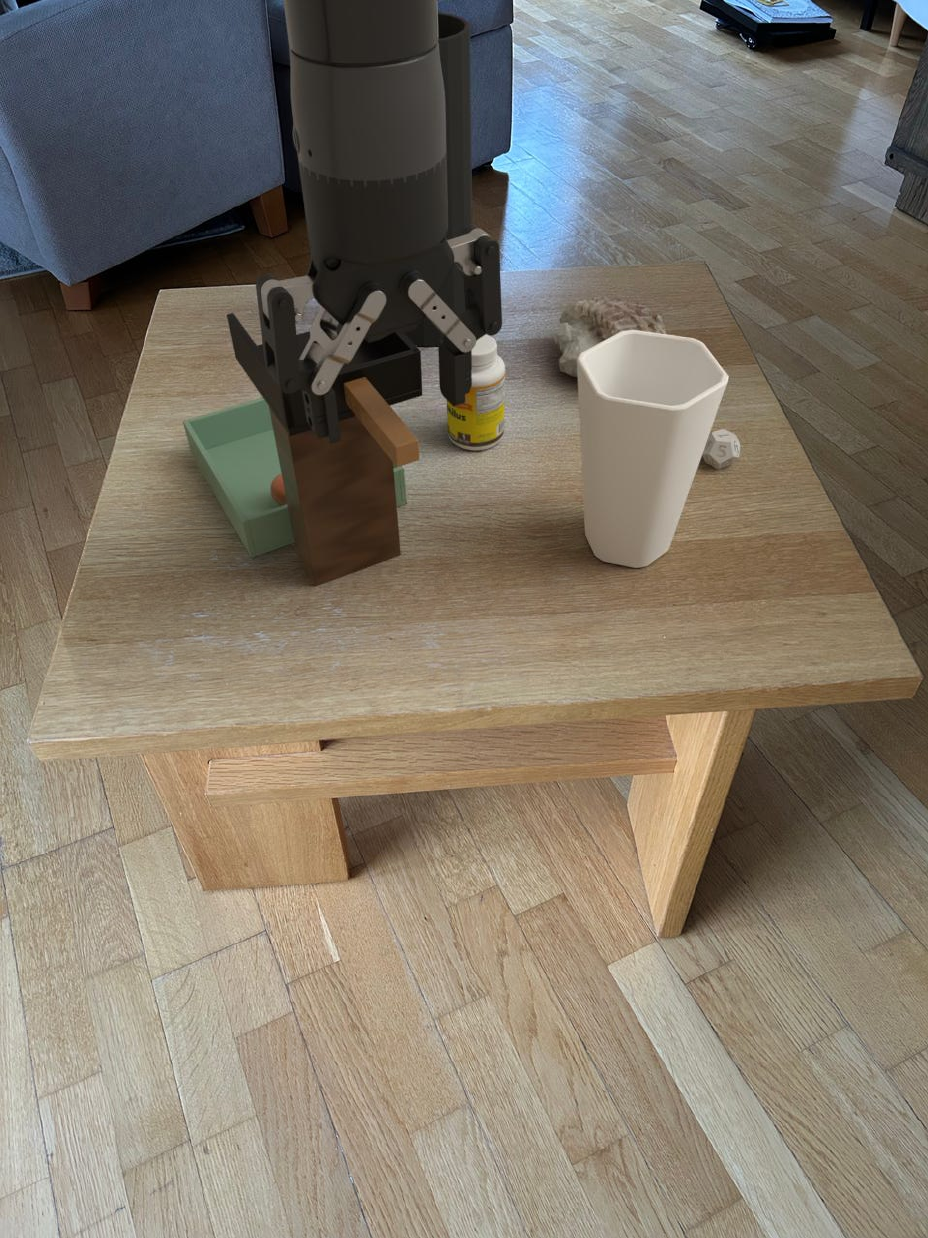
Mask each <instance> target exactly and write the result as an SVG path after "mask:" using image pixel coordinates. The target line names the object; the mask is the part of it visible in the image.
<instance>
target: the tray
mask: <svg viewBox="0 0 928 1238" xmlns="http://www.w3.org/2000/svg"><path fill="white" fill-rule="evenodd" d="M182 425H183V428H184V432H185V436H186V439H187V444H188V447H189V450H190V453H191V456H192V458H193V460H194V462H195V464H196V465H197V468H198V469H199V471H200V472H201V474H202V475H203V477H204V479H205V481H206V483H207V484H208V486H209V487H210V490H211V491H212V493H213V495H214V497H215V498H216V500H217V502H218V504H219V505H220V507H221V508H222V511H223V512H224V514H225V516H226V517H227V519H228V521H229V523H230V524H231V527H232V528H233V529H234V531H235V533H236V534H237V536H238V539H239V540H240V541H241V544H242V545H243V547H244V548H245V550H246V552H247V554H248V555H249V557H250V558H255V557H257V556H260V555H263V554H267V553H269V552H272V551H275V550H277V549H281V548H284V547H287V546H289V545H292V544H295V542H294V536H293V531H292V526H291V521H290V515H289V510H288V505H287V504H286V505H283V506H282V505H279V504H278V503H276V502H275V501H274V500H273V498H272V496H271V493H270V485H271V482H272V481H273V479H274V478H275V477H276V476H277V475H279V474H282V473H281V468H280V463H279V458H278V452H277V447H276V442H275V437H274V431H273V426H272V421H271V416H270V410H269V405H268V404H267V403H266V401H265V400H264V398H263V397H259V398H257V399H252V400H250V401H246V402H242V403H240V404H236V405H233V406H229V407H226V408H222V409H219V410H215V411H212V412H209V413H205V414H202V415H198V416H194V417H191V418H188V419H184V420H183V421H182ZM393 468H394V480H395V492H396V503H397V508H398V507H401V506H404V505H407V504H408V501H407V486H406V475H405V474H406V473H405V468H404V465H403V466H400V467H396V465H395V464H394V463H393Z"/></svg>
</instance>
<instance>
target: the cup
mask: <svg viewBox="0 0 928 1238" xmlns="http://www.w3.org/2000/svg"><path fill="white" fill-rule="evenodd" d="M577 374H578V377H577V393H578V395H577V396H578V416H579V434H580V435H579V437H580V456H581V457H580V459H581V460H580V461H581V475H582V477H581V478H582V500H583V501H582V502H583V521H584V536H585V538H586V540H587V542H588V544H589V546H590V549H591V551H592V553H593V555H594V557H596V558H597V559H599V560H600V561H602V562H604V563H610V564H613V565H620V566H623V567H629V568H634V569H638V568H645V567H648V566H649V565H651V564H653V562H655V561H656V560H658V559H659V558H661V557H662V556H663V555H665V554H666V553H667V552H669V550H670V548H671V544H672V541H673V538H674V536H675V533H676V530H677V527H678V524H679V522H680V518H681V516H682V513H683V510H684V507H685V504H686V502H687V499H688V496H689V493H690V490H691V487H692V484H693V482H694V479H695V476H696V473H697V471H698V468H699V465H700V463H701V459H702V454H703V451H704V448H705V445H706V442H707V439H708V436H709V434H710V433H711V432H712V428H713V426H714V422H715V419H716V416H717V414H718V411H719V408H720V405H721V402H722V399H723V396H724V394H725V391H726V388H727V385H728V382H729V377H730V376H729V374H728V373H727V372H726V371H725V369H724V368H723V366H721V364H720V363H719V362H718V360H717V359H716V358H715V356H714V355H713V354H712V352H711V351H710V350H709V348H708V347H707V346H706V345H705V343H704V342H702V341H700V340H698V339H697V338H693V337H687V336H680V335H674V334H673V335H672V334H667V333H666V334H660V333H653V332H646V331H639V330H627V331H621V332H620V333H618V334H616V335H614V336H612V337H610V338H608V339H607V340H605V341H603V342H601V343H599V344H597V345H595V346H593V347H592V348H590V349H588V350H586V351H584V352H582V353H580V354H579V357H578V359H577Z"/></svg>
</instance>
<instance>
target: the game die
mask: <svg viewBox="0 0 928 1238" xmlns="http://www.w3.org/2000/svg"><path fill="white" fill-rule="evenodd" d="M740 453H741V442H740V440H739V439H738V437H737V435H736V434H735V433H733V432H731V431H729V430H728V429H725V428H721V429H718V430H714V431H710V434H709V436H708V439H707V442H706V445H705V448H704V451H703V454H702V456H701V458H702V459H703V460H704V462H705V464H707V465H709V466H711V467H713V468H714V469H716V470H720V469H722V468H726V467H729V466H731V465H732V464H733V463H734V462H736V461H737V460H738V459H739V458H740Z"/></svg>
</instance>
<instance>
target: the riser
mask: <svg viewBox="0 0 928 1238" xmlns="http://www.w3.org/2000/svg"><path fill="white" fill-rule="evenodd" d="M269 410H270V416H271V421H272V426H273V431H274V437H275V442H276V447H277V452H278V458H279V463H280V468H281V473H282V479H283V484H284V489H285V494H286V500H287V505H288V510H289V515H290V521H291V526H292V531H293V536H294V542H295V543H294V546H295V552H296V556H297V560H298V561H299V563H300V564H301V566H302V568H303V570H304V571H305V572H306V574H307V576H308V577H309V579H310V581H311V582H312V583H313V585H314V586H315V587H316V586H319V585H322V584H325V583H328V582H329V581H330V582H331V581H333V580H336V579H340V578H341V577H344V576H346V575H349V574H353V573H355V572H358V571H360V570H363V569H365V568H368V567H371V566H374V565H376V564H379V563H382V562H385V561H387V560H390V559H393V558H395V557H398V556H401V555H402V552H401V540H400V538H401V537H400V531H399V529H400V528H399V517H398V507H397V503H396V492H395V480H394V468H393V462H392V460H391V459H390V458H389V457H388V455H387V454H386V453H385V452H384V450H383V449H382V448H381V447H380V445H379V444H378V443H377V441H376V440H375V439H374V438H373V436H372V435H371V434H370V433H369V431H368V430H367V429H366V428H365V426H364V425H363V424H362V423H361V421H360V420H359V419H358V418H357V416H355V417H351V418H348V419H345V420H342V421H339V428H340V436H341V441H340V442H337V443H334V444H331V445H329V444H328V443H327V442H326V441H325V439H324V438H319V437H318V436H317V434H316V433H315V432H314V430H310V431H306V432H303V433H300V434H297V435H293V436H289V434H288V433H287V431H286V430H285V429H284V427H283V426H282V424H281V423H280V421H279V420H278V418H277V417H276V416H275V414H274V413H273V411H272V410H271V408H270V407H269Z"/></svg>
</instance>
